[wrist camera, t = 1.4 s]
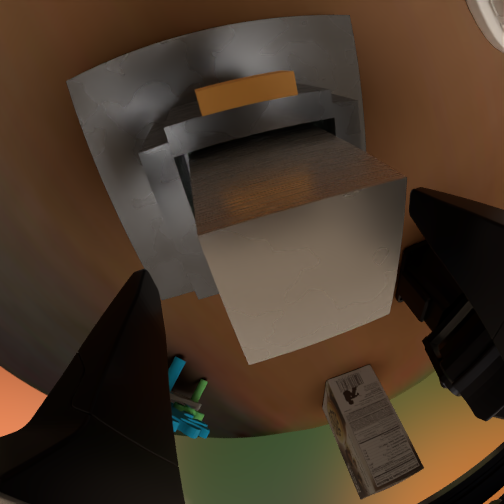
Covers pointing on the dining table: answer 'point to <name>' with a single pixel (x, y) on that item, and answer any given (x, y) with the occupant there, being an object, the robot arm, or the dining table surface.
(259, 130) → the stand
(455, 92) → the dining table surface
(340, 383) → the coffee box
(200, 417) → the blue angular plastic piece
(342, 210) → the block
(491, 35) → the decorative container
